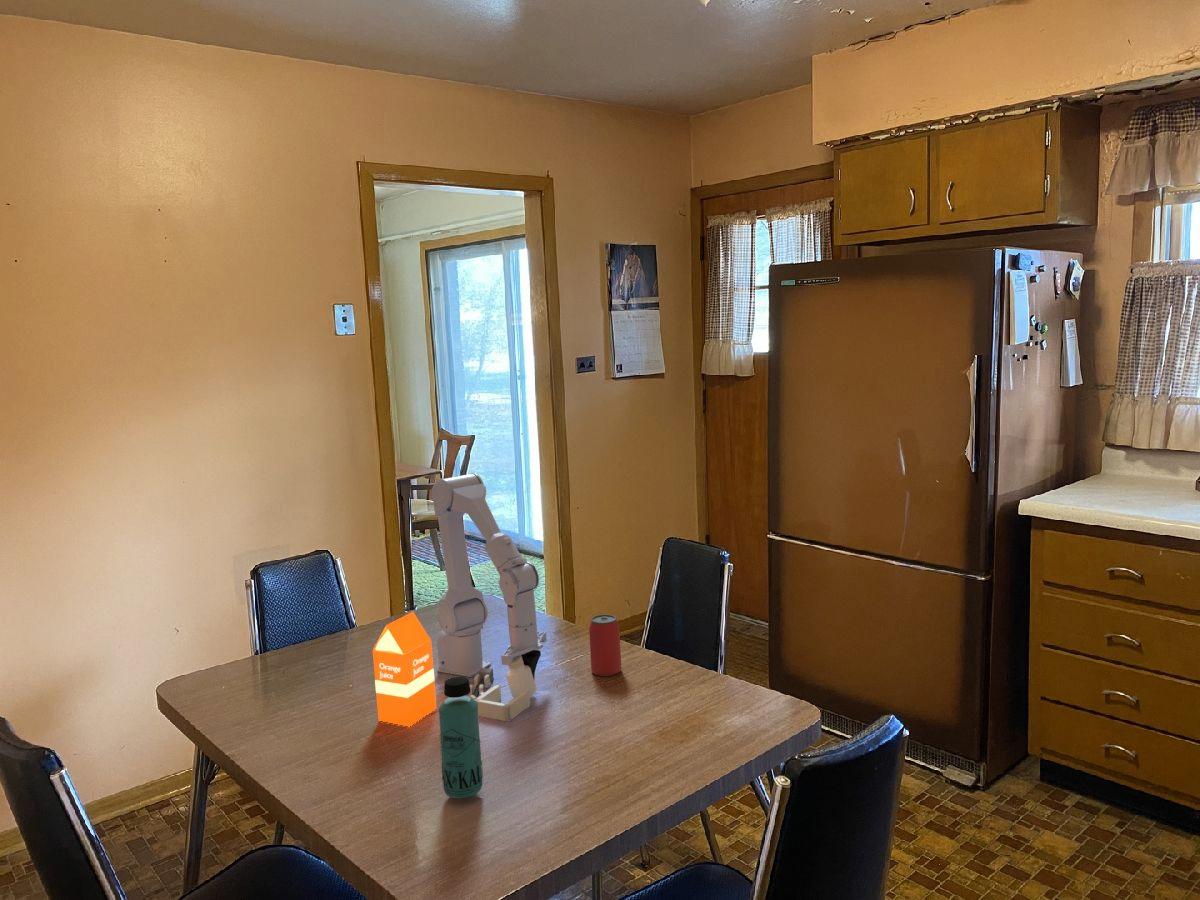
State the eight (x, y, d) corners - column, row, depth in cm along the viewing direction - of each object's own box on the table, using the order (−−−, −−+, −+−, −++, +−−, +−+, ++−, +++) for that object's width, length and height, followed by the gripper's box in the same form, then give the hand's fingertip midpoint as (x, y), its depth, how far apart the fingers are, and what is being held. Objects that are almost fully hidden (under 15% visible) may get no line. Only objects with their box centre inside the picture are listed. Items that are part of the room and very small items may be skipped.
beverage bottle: (445, 788, 145) (436, 673, 142) (485, 785, 145) (478, 670, 142) (441, 809, 138) (432, 689, 135) (484, 806, 139) (475, 686, 136)
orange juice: (437, 708, 176) (429, 613, 173) (410, 727, 168) (402, 627, 165) (405, 703, 179) (397, 609, 176) (377, 721, 171) (369, 623, 168)
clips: (465, 709, 175) (464, 699, 174) (471, 684, 187) (470, 674, 187) (487, 708, 175) (486, 697, 175) (491, 682, 188) (490, 672, 187)
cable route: (469, 709, 174) (468, 698, 174) (479, 678, 190) (479, 668, 190) (484, 709, 174) (483, 697, 174) (493, 678, 190) (493, 667, 190)
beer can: (622, 665, 194) (620, 613, 192) (620, 677, 187) (617, 623, 186) (592, 665, 194) (590, 613, 193) (589, 677, 188) (587, 623, 186)
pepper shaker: (522, 686, 182) (511, 649, 178) (538, 690, 180) (527, 652, 176) (511, 699, 179) (500, 662, 175) (527, 702, 177) (516, 665, 173)
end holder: (474, 714, 172) (473, 700, 172) (497, 698, 179) (496, 685, 179) (508, 721, 168) (507, 706, 168) (530, 705, 175) (529, 690, 175)
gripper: (520, 636, 171) (526, 702, 172) (556, 613, 184) (561, 675, 185) (490, 633, 174) (496, 698, 176) (528, 610, 187) (533, 671, 188)
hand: (527, 686), depth 181 cm, fingers closed, pressing on pepper shaker
